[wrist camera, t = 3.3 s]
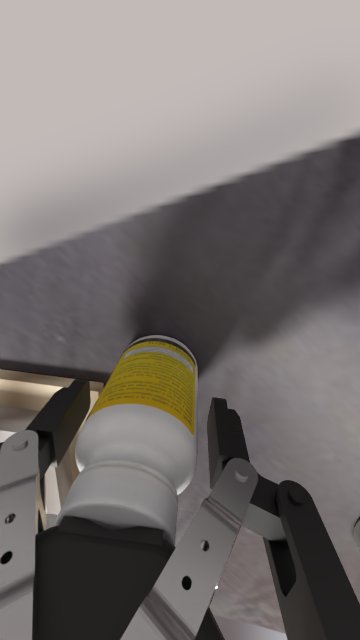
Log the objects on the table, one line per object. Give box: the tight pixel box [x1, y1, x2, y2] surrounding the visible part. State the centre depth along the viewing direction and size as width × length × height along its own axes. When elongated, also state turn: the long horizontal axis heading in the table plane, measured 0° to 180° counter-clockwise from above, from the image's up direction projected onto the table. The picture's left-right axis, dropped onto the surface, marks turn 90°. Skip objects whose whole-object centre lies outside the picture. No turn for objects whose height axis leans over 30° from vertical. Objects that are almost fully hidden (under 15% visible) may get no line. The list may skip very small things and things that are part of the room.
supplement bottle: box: [56, 335, 198, 545], centre depth 12 cm, size 5×5×10 cm
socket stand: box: [0, 369, 104, 515], centre depth 19 cm, size 14×14×3 cm
